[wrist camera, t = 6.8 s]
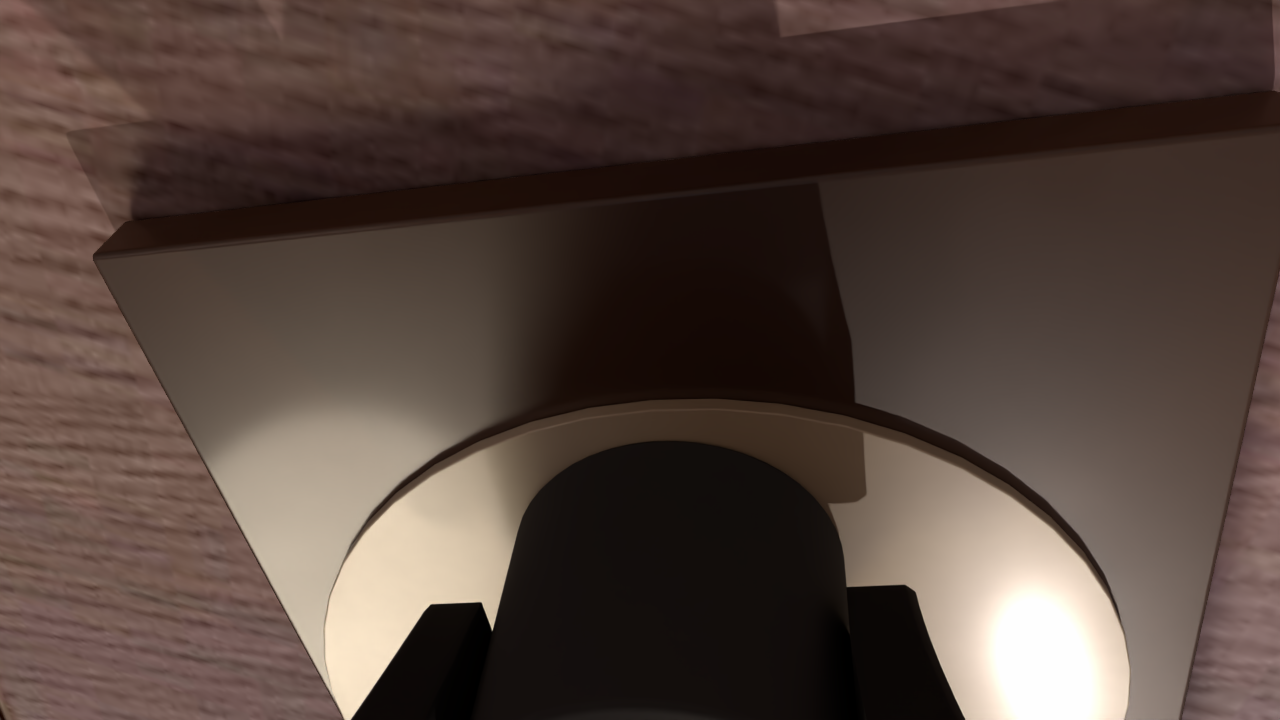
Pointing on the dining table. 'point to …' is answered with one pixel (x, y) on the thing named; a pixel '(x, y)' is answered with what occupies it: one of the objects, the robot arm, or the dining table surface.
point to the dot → (671, 595)
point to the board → (759, 375)
